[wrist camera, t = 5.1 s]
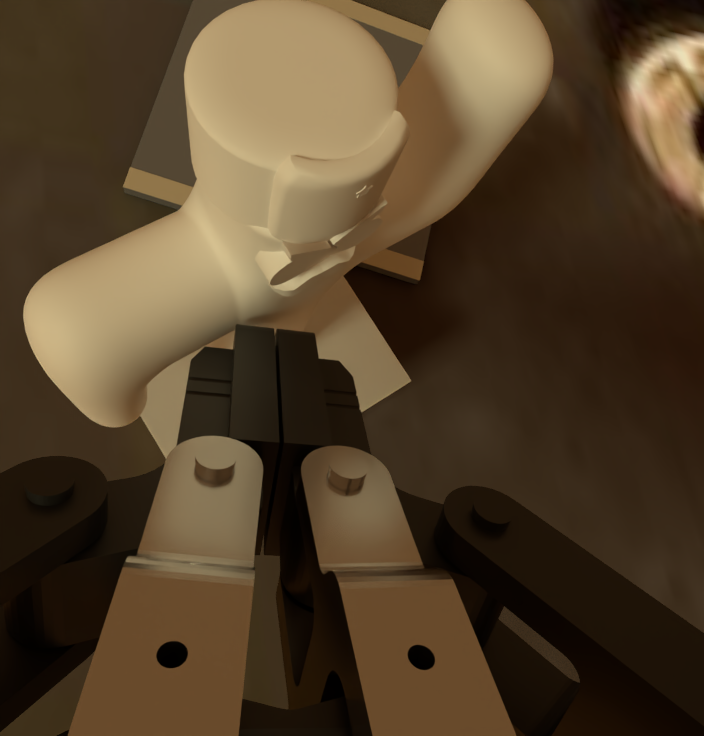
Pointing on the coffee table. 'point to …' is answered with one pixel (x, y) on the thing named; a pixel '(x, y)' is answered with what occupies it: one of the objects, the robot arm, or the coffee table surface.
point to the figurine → (288, 198)
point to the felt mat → (171, 134)
